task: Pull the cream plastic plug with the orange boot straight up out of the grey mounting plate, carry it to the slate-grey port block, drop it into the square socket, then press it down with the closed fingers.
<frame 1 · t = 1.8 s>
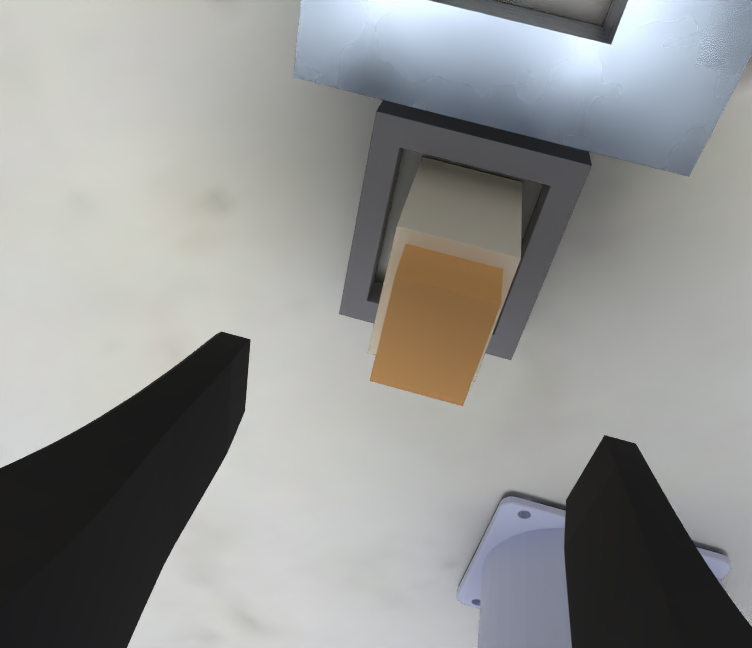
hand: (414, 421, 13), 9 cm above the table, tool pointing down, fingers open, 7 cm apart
plug: (444, 278, 17), in the grey mounting plate
grey mounting plate: (454, 229, 20), on the table
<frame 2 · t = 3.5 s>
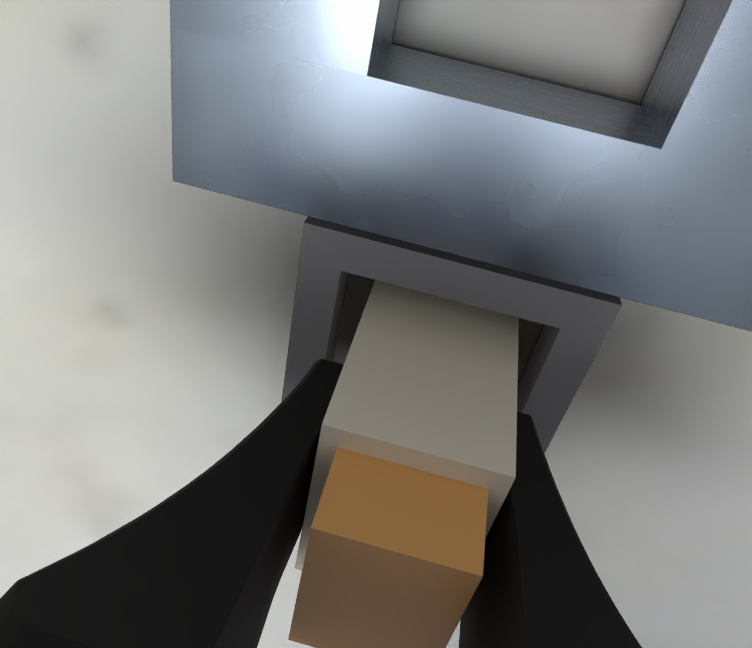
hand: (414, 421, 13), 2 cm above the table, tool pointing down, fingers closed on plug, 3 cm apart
plug: (405, 461, 12), in the grey mounting plate, touching gripper
grey mounting plate: (426, 362, 14), on the table
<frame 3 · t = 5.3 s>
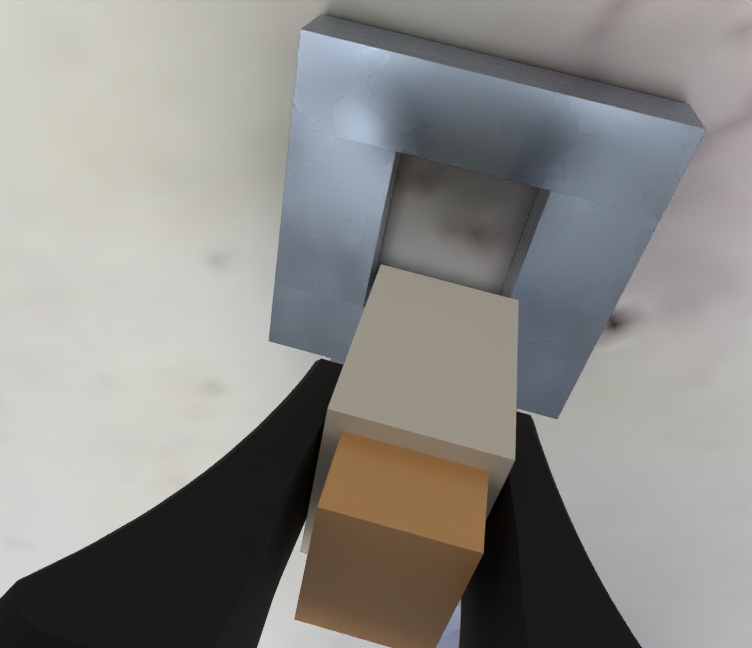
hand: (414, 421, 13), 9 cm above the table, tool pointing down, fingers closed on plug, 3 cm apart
plug: (408, 448, 12), point 10 cm above the table, touching gripper
port block: (454, 222, 20), on the table
when the fingers open (3 cm above the table, at t = 7.4 s): plug stays where it is, resting in port block.
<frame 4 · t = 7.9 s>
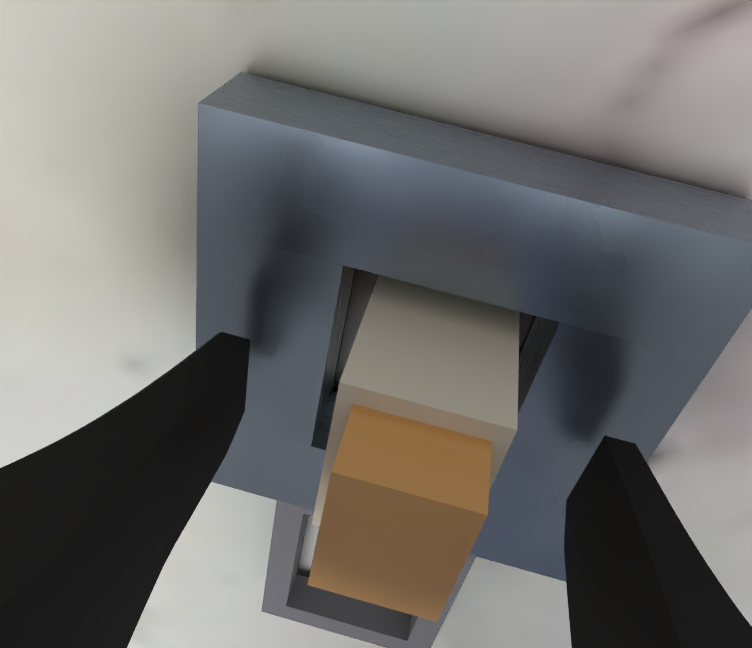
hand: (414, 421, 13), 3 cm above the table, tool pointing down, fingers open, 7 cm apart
plug: (414, 424, 13), in the port block
port block: (431, 336, 15), on the table
grey mounting plate: (367, 548, 21), on the table
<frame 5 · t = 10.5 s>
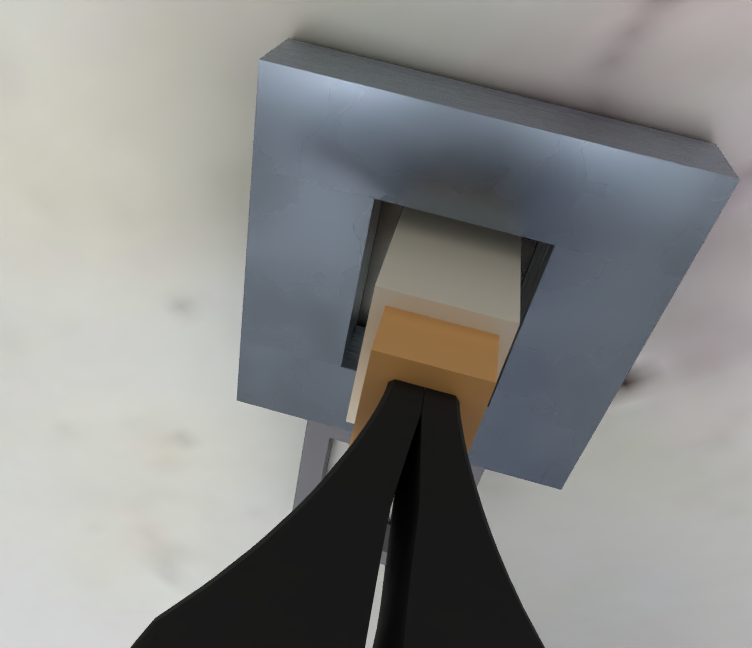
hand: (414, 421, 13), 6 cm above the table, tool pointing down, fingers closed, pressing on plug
plug: (432, 336, 15), in the port block, touching gripper
port block: (445, 271, 17), on the table
grey mounting plate: (383, 477, 23), on the table
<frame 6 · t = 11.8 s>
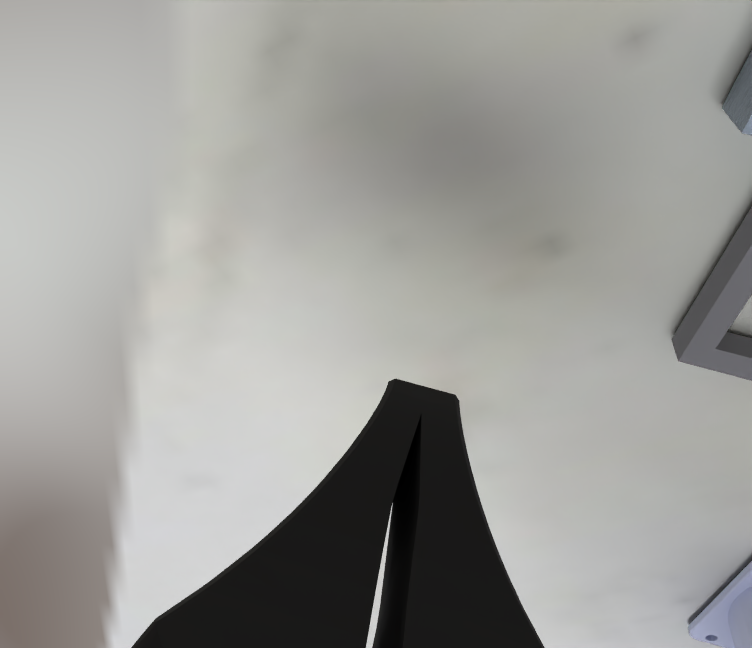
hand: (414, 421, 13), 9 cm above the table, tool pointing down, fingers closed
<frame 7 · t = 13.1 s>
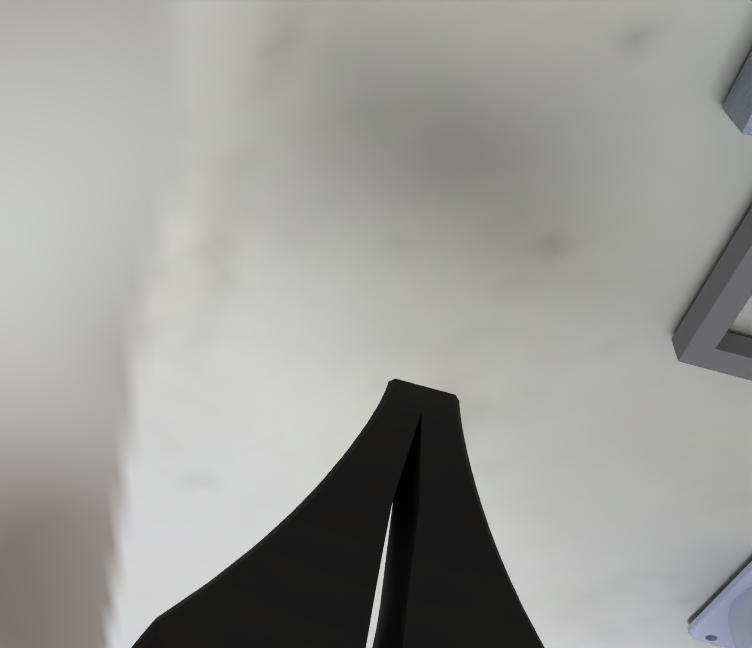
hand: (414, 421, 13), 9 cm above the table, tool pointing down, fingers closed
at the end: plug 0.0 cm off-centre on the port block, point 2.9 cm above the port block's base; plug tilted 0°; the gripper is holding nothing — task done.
